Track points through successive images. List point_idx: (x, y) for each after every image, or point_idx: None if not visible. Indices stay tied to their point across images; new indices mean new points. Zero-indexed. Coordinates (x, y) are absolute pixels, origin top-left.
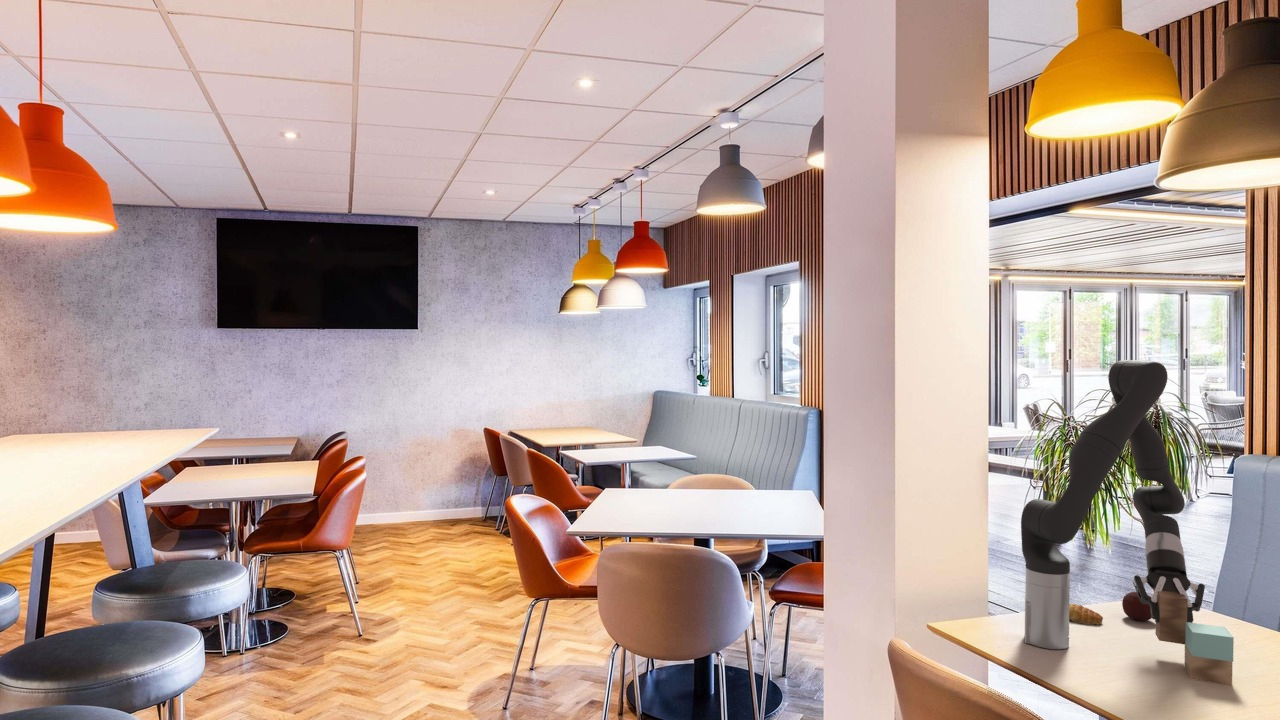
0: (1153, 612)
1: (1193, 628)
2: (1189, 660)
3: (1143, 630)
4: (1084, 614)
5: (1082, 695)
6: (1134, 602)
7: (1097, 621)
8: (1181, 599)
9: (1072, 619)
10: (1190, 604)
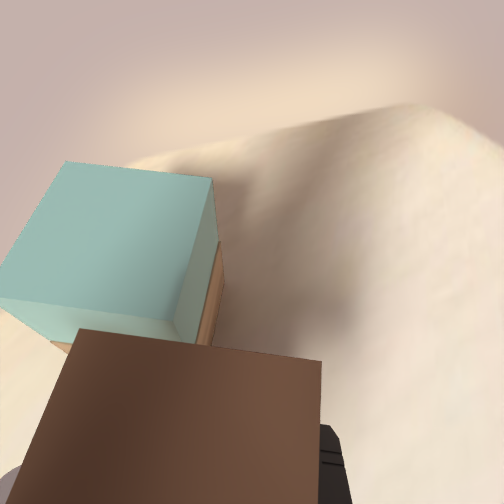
0: (331, 445)
1: (183, 222)
2: (216, 281)
3: None
4: None
5: (473, 132)
6: None
7: None
8: (134, 340)
9: None
10: (16, 473)
